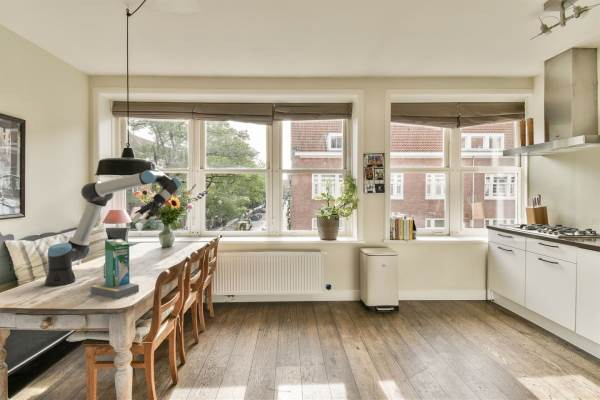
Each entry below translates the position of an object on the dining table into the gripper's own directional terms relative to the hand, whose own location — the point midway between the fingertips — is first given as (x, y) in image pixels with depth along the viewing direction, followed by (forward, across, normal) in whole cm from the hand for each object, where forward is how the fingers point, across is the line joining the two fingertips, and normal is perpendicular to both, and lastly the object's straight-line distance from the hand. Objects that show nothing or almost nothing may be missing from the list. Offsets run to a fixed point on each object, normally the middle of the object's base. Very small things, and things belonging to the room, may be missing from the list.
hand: (136, 222), depth 199 cm
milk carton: (+33, -4, -15) cm, 36 cm away
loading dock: (+37, -8, -16) cm, 41 cm away
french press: (+32, +16, -21) cm, 42 cm away
